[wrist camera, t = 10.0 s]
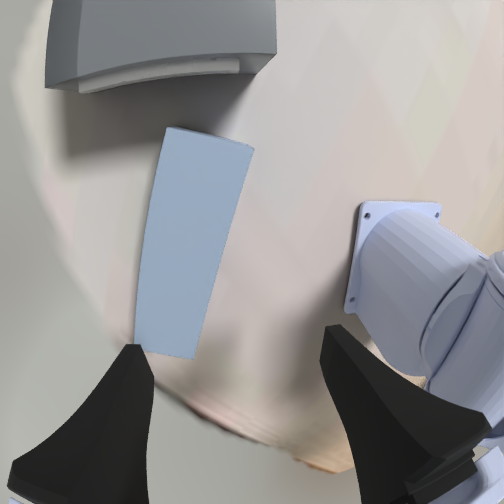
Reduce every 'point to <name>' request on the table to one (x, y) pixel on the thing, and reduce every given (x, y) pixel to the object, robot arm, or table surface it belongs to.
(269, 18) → the gray block
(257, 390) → the table surface
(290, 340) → the table surface
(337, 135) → the table surface
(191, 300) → the pale blue rectangular block
